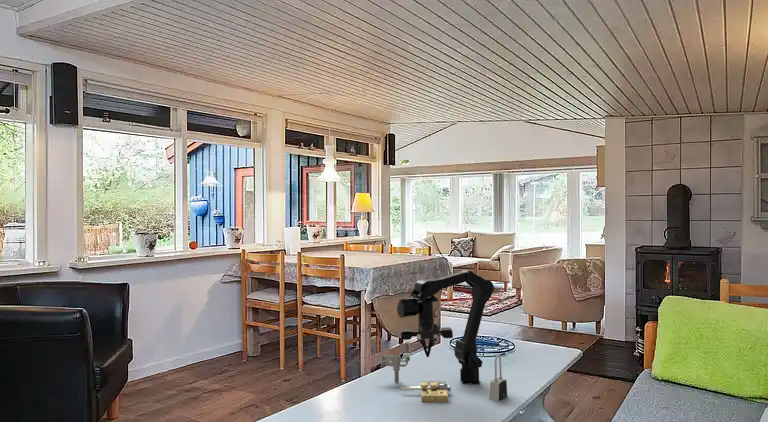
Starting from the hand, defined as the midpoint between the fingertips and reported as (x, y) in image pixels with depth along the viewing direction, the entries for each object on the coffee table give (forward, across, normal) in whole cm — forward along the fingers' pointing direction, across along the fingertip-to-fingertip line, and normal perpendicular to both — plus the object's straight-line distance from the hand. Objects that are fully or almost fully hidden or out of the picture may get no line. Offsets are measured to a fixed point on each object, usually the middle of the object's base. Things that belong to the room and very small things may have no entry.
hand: (427, 356), depth 212 cm
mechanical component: (+12, -12, +8) cm, 19 cm away
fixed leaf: (+11, -1, -3) cm, 12 cm away
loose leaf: (+11, +1, -10) cm, 15 cm away
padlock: (+12, +24, -11) cm, 29 cm away
